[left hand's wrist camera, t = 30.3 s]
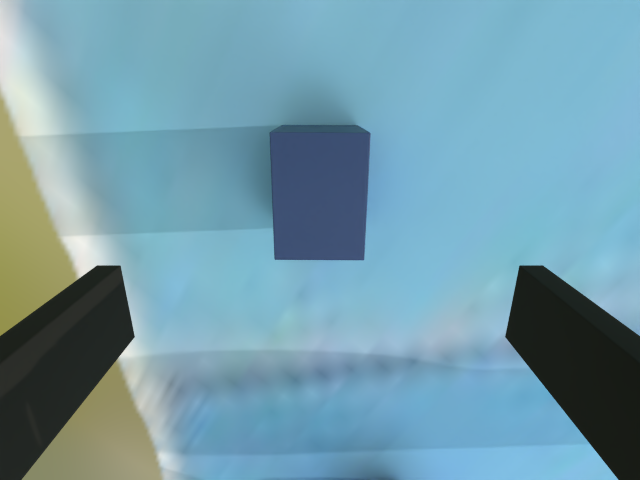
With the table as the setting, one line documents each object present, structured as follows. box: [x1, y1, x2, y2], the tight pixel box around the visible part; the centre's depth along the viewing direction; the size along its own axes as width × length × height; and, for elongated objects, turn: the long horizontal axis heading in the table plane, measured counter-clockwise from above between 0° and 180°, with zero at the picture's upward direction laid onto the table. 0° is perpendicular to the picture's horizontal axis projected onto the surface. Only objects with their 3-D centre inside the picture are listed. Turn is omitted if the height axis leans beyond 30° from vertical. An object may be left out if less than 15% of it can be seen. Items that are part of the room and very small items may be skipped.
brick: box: [270, 125, 370, 260], centre depth 30 cm, size 7×9×8 cm
